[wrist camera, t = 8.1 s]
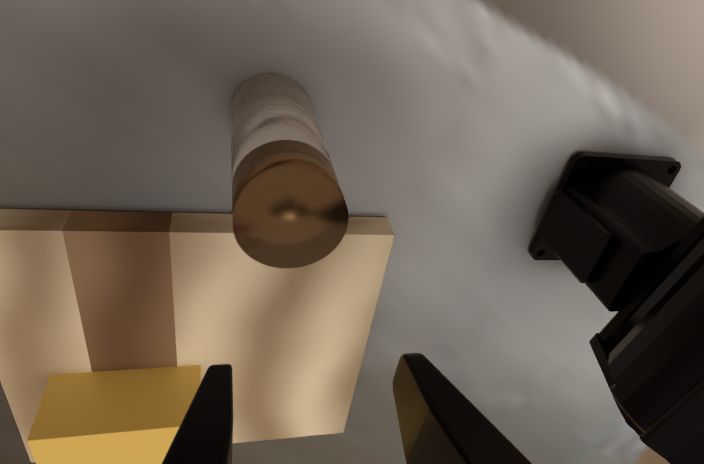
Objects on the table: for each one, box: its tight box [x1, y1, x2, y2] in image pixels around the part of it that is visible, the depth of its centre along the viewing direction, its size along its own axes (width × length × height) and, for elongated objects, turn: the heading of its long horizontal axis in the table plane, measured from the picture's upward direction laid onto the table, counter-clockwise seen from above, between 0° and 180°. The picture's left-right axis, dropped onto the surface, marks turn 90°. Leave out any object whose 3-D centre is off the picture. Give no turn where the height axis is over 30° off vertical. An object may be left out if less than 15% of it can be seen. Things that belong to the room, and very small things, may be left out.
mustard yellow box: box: [27, 365, 201, 464], centre depth 25 cm, size 7×5×4 cm
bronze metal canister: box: [231, 73, 348, 269], centre depth 17 cm, size 3×3×8 cm
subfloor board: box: [0, 209, 395, 463], centre depth 26 cm, size 18×16×2 cm
